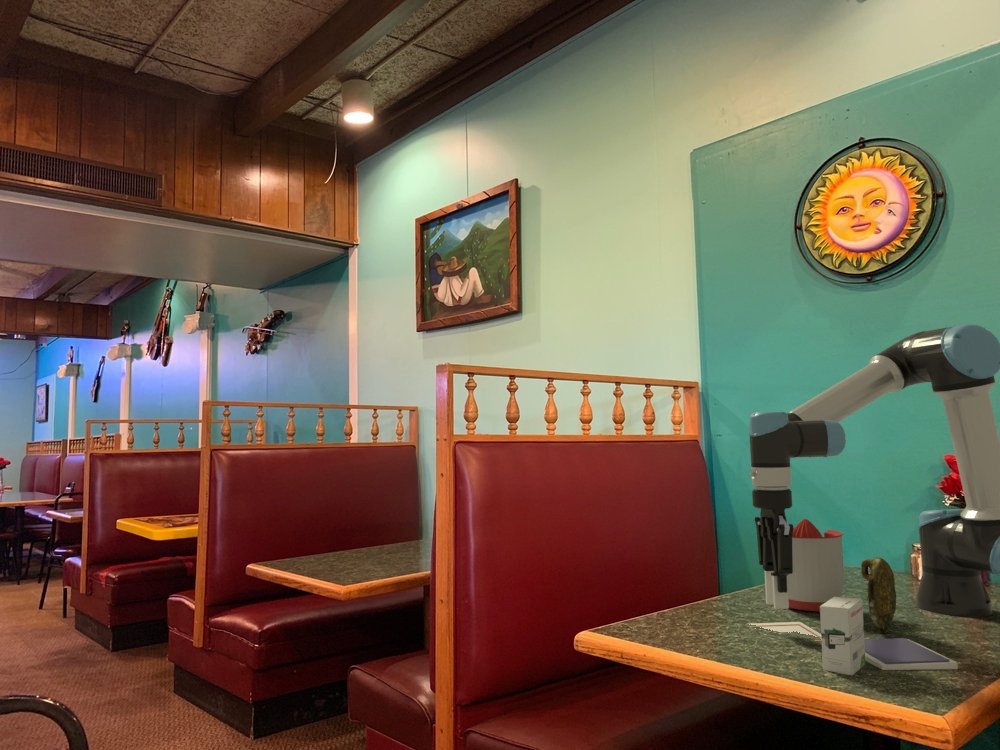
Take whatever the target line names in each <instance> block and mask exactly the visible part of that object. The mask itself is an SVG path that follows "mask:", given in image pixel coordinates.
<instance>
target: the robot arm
mask: <svg viewBox="0 0 1000 750" xmlns="http://www.w3.org/2000/svg"><path fill="white" fill-rule="evenodd" d="M999 371H1000V341H999V340H998V338H997V337H996V335H995V334H994V333H993V332H991V331H990V330H988V329H986V327H983V326H981V325H978V324H954V325H951V326H948V327H947V326H946V327H942V328H937V329H931V330H924V331H918V332H915V333H913V334H911V335H909V336H906V337H904V338H903V339H900V340H899V341H897V342H895V343H893V344H892V345H890V346H889V347H887V348H886V349H884V350H882V351H880V352H879V353H877V354H875V355H874V356H872V357H871V358H870V360H869V362H868V364H867V365H866V366H864V367H862V368H861V369H859V370H858V371H856V372H853V374H851V375H849V376H847V377H846V378H844V379H843V380H841V381H839V382H837V383H836V384H833V385H832V386H830V387H828V388H827V389H825V390H823V391H822V392H820V393H819V394H817V395H815V396H814V397H812V398H810V399H809V400H807V401H805V402H803V403H802V404H800V405H798V406H797V407H795V408H793V409H792V410H790V411H788V412H786V411H758V412H753V413H751V414H750V415H749V423H748V425H749V426H748V437H749V449H750V450H749V451H750V452H749V453H750V466H751V467H750V468H751V469H750V470H751V471H750V472H748V473H749V474H748V475H749V477H750V478H751V485H752V486H753V487H755V488H753V489H752V491H751V494H752V507H754V508H757V509H759V510H760V512H759V513H760V514H759V516H755V517H754V523H755V524H754V525H755V528H756V538H757V539H756V540H757V541H756V542H757V549H758V551H757V552H758V553H757V554H758V564H759V565H760V566H762V569H763V572H764V589H765V604H766V605H773V609H774V610H786V609H787V610H789V609H790V608H789V602H788V582H787V575H789V574H792V573H793V557H792V534H793V528H794V525H793V523H789V524H788V523H787V516H786V511H785V510H786V509H791V508H792V507H793V495H792V494H793V493H792V490H791V489H790V488H789V487H791V486H792V470H791V469H792V468H791V459H792V458H793V459H795V458H821V457H822V458H828V457H836V456H839V455H840V454H841V453H842V452H843V451H844V450H845V447H846V443H847V442H846V441H847V440H846V432H845V429H844V428H843V426H842V424H841V423H840V422H842V421H843V420H845V419H846V418H848V417H849V416H851V415H853V414H855V413H856V412H858V411H860V410H861V409H863V408H865V407H866V406H869V404H871V403H874V402H875V401H876V400H878V399H879V398H881V397H883V396H884V395H886V394H888V393H898V392H900V391H902V390H904V389H905V388H907V387H908V388H909V387H910V386H914V385H918V384H924V383H931V388H932V393H933V394H935V395H937V396H938V397H940V399H942V402H943V405H944V410H945V414H946V419H947V423H948V428H949V434H950V438H951V442H952V446H953V450H954V451H953V452H954V455H955V460H956V464H957V468H958V469H957V470H958V473H959V477H960V482H961V486H962V487H961V488H962V493H963V496H964V500H965V505H966V506H965V508H954V509H952V508H951V509H949V508H948V509H932V510H931V509H930V510H929V509H928V510H924V511H921V512H920V514H919V521H918V522H919V524H918V530H919V531H918V534H919V545H920V548H919V549H920V557H921V558H920V559H921V572H922V574H921V577H920V581H919V584H918V586H917V587H918V588H917V590H916V594H915V607H917V609H919V610H922V611H926V612H930V613H933V614H940V615H946V616H953V615H955V616H954V617H956V616H957V617H965V616H966V617H967V618H968V617H970V618H974V617H975V618H976V617H977V618H980V617H981V618H982V617H989V616H992V614H993V603H992V601H991V598H990V596H989V594H988V591H987V588H986V586H985V584H984V582H983V580H982V576H981V574H982V573H981V572H984V573H988V574H992V575H995V576H998V577H1000V437H999V431H998V426H997V423H996V422H997V421H996V417H995V414H994V413H995V412H994V409H993V404H992V400H991V396H990V395H991V394H990V391H991V389H993V387H994V386H995V385H996V380H995V375H996V374H997V373H998V372H999ZM966 617H965V618H966Z"/></svg>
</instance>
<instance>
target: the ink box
mask: <svg viewBox="0 0 1000 750" xmlns="http://www.w3.org/2000/svg"><path fill="white" fill-rule="evenodd" d="M819 615H820V634H821V640H822V642H821V655H822V656H821V657H822V658H821V659H822V661H821V662H822V670H823V671H828V672H834V673H837V674H842V675H848V676H853V675H855V674H856V673H857V672H858V671H859V670H861V669H862V668H863V667H864V666H865V665H866V661H865V644H864V640H865V631H864V630H865V629H864V608H863V599H862V598H857V597H842V596H841V597H833V598H832V599H830V600H829V601H827V602H826V603H824V604H823V605H821V606H820V612H819Z"/></svg>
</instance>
